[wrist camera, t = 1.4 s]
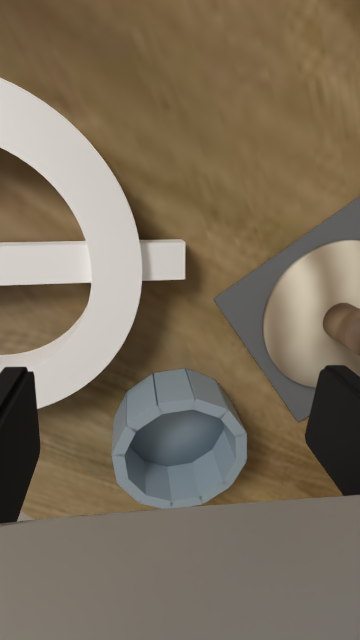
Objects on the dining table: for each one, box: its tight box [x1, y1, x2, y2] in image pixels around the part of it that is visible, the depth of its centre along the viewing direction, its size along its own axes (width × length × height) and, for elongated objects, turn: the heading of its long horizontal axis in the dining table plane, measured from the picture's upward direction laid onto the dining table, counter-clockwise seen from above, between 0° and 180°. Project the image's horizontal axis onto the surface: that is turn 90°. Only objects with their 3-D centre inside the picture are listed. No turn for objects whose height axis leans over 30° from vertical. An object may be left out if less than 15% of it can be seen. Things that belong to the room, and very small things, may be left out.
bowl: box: [112, 369, 247, 509], centre depth 37 cm, size 14×14×6 cm
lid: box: [262, 240, 360, 387], centre depth 35 cm, size 17×17×6 cm
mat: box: [214, 197, 360, 422], centre depth 38 cm, size 20×20×1 cm
